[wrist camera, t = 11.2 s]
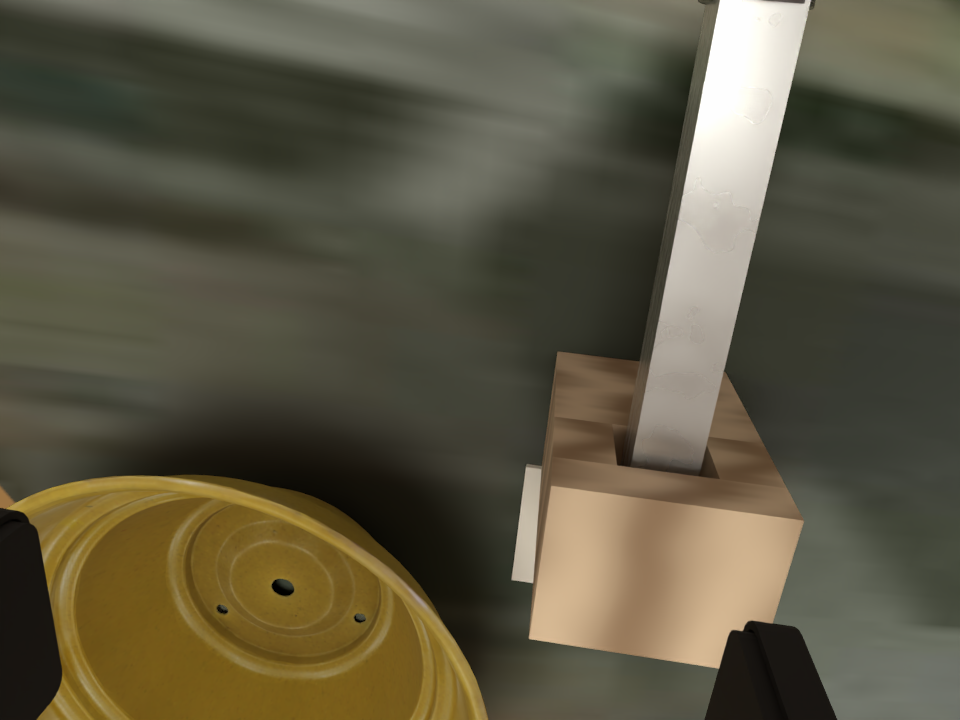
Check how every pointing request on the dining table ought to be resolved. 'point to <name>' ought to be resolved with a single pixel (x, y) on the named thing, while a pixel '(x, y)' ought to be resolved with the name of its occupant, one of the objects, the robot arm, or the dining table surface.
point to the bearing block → (653, 527)
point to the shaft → (711, 225)
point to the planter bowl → (235, 608)
